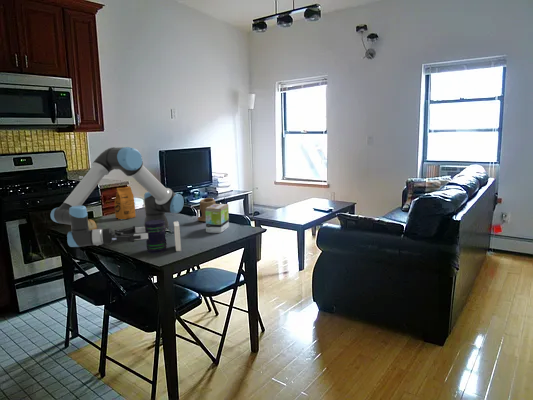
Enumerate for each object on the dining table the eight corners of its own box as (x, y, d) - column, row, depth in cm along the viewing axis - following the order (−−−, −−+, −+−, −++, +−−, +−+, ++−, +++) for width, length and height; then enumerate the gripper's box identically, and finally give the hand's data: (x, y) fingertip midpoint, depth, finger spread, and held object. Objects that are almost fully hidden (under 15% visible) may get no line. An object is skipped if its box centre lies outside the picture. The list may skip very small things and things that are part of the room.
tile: (176, 251, 201) (174, 226, 199) (175, 245, 211) (173, 221, 209) (181, 250, 202) (179, 225, 200) (180, 245, 211) (178, 221, 209)
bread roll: (91, 229, 253) (89, 216, 252) (100, 233, 243) (99, 220, 241) (75, 232, 247) (73, 219, 245) (84, 236, 236) (83, 223, 235)
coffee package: (113, 219, 280) (110, 187, 276) (129, 215, 289) (127, 185, 286) (121, 220, 274) (118, 188, 270) (137, 217, 283) (134, 186, 279)
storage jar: (142, 252, 201) (140, 223, 198) (154, 246, 210) (152, 219, 207) (159, 254, 197) (157, 224, 195) (170, 248, 206) (168, 220, 204)
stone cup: (204, 223, 258) (202, 200, 255) (195, 220, 267) (194, 198, 265) (224, 220, 267) (223, 197, 264) (215, 217, 276) (214, 195, 274)
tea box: (222, 233, 234) (220, 208, 231) (205, 232, 236) (204, 208, 233) (229, 226, 248) (228, 203, 246) (214, 226, 250) (212, 203, 248)
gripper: (106, 237, 208) (149, 233, 213) (100, 251, 184) (148, 246, 189) (105, 223, 207) (148, 219, 212) (98, 235, 183) (147, 231, 188)
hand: (148, 232), depth 201 cm, fingers open, 13 cm apart
